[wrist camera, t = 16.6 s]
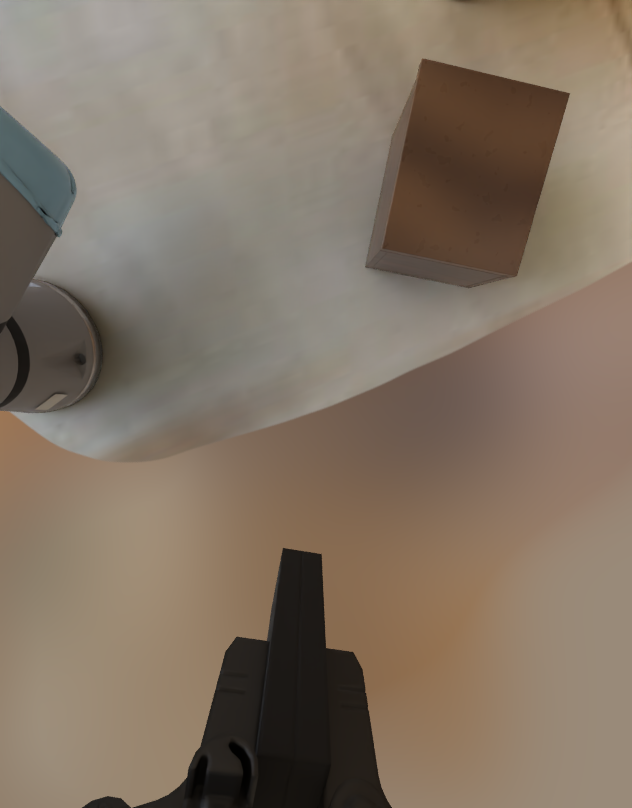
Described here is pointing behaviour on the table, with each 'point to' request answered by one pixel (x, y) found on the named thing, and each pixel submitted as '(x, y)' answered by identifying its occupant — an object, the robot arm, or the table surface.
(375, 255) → the tea box
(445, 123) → the lid
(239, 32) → the table surface
